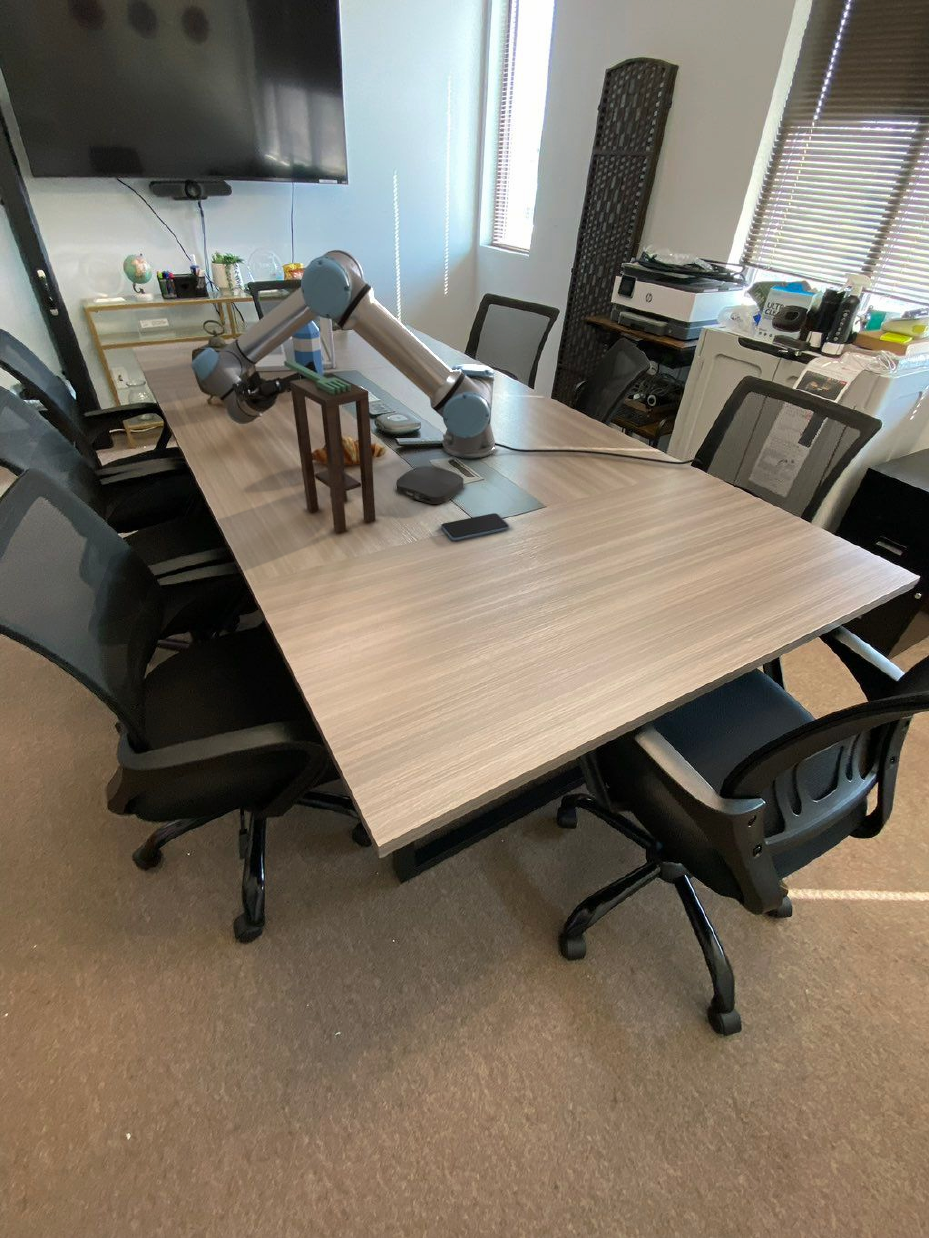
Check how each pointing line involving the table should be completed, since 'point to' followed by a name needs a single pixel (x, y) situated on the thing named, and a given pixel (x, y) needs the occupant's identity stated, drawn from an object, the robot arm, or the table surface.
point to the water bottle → (308, 346)
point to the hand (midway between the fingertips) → (287, 372)
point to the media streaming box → (430, 484)
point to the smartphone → (474, 526)
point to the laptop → (286, 351)
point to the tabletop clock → (217, 345)
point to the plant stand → (334, 447)
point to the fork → (320, 379)
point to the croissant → (348, 452)
